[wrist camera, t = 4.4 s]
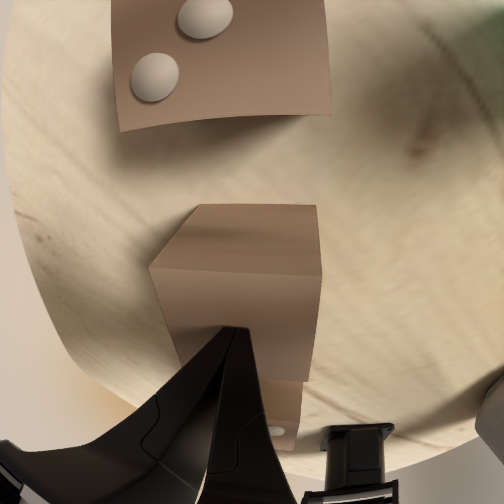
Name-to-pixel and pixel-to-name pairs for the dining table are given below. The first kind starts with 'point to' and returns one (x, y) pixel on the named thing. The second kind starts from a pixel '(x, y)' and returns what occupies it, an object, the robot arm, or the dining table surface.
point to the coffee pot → (493, 419)
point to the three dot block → (218, 59)
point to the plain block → (244, 282)
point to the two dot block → (282, 410)
